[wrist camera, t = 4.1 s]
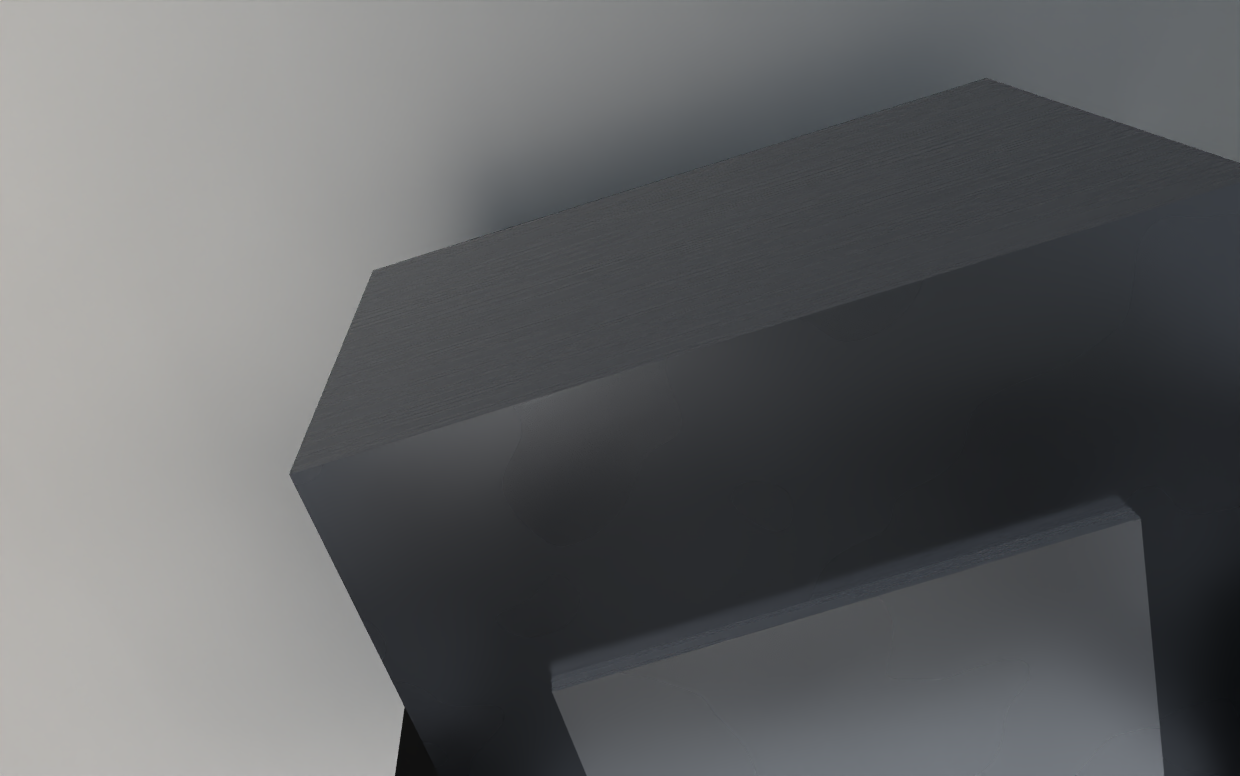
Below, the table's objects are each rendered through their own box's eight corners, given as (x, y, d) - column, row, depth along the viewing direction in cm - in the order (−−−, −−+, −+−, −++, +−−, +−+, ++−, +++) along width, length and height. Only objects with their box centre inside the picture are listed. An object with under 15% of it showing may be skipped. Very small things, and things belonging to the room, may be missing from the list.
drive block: (986, 78, 10) (1287, 178, 6) (1088, 824, 14) (1303, 1164, 10) (372, 270, 10) (283, 485, 6) (654, 947, 14) (706, 1325, 10)
